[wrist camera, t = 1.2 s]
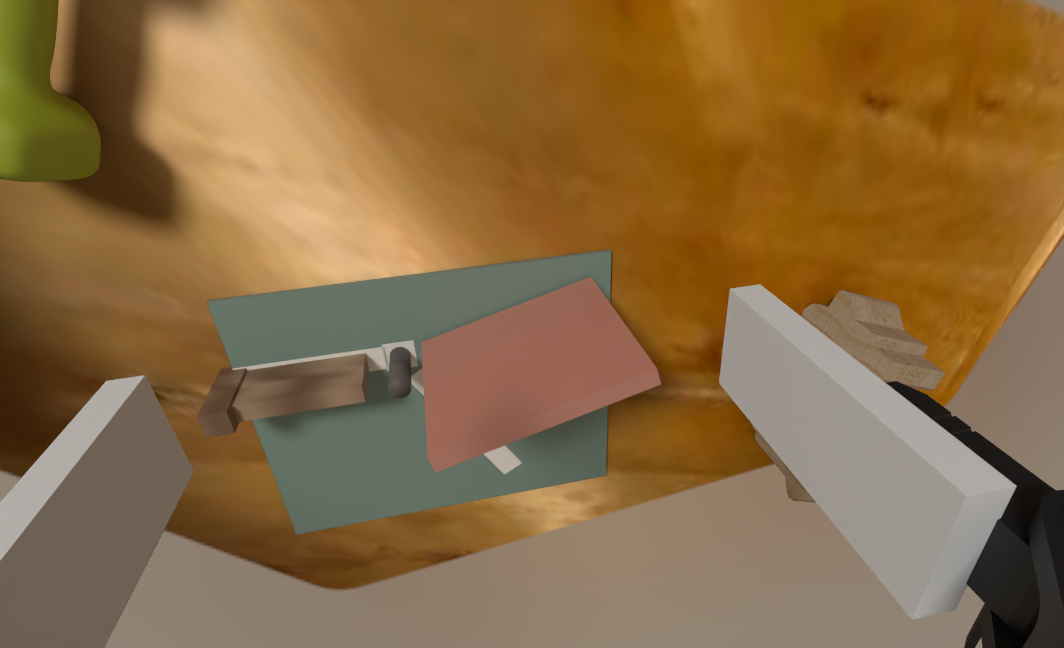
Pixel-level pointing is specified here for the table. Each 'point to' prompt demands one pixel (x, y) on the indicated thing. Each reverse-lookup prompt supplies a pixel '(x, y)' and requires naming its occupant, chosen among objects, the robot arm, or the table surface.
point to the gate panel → (527, 372)
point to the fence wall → (295, 389)
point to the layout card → (399, 423)
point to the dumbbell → (39, 102)
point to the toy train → (865, 353)
